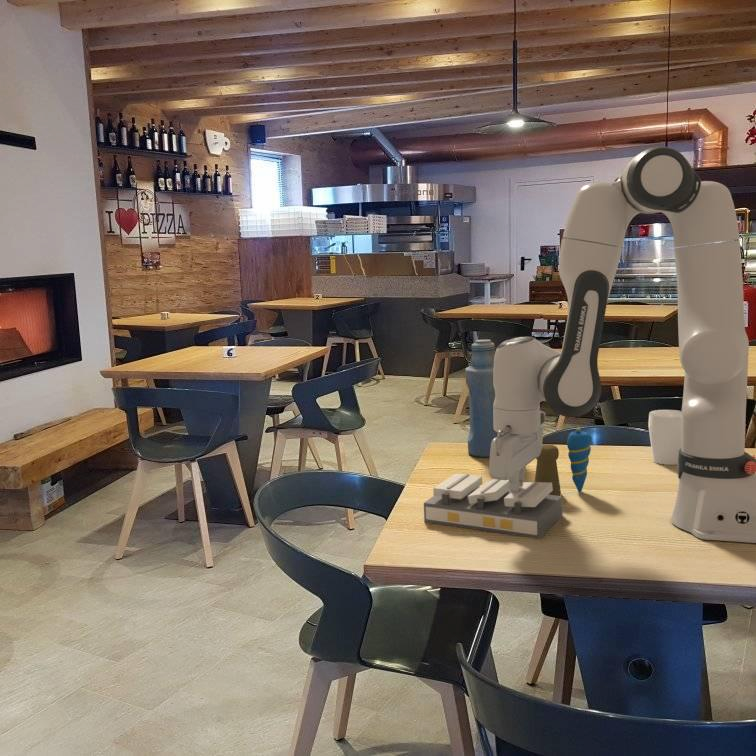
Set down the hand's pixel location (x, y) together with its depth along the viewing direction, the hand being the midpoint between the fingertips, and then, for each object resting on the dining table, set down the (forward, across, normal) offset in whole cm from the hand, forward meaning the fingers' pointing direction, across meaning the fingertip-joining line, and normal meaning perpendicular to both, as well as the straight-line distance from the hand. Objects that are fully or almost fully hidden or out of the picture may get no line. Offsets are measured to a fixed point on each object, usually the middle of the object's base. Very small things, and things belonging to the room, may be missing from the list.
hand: (516, 489), depth 157 cm
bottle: (+7, +46, +25) cm, 53 cm away
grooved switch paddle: (+1, 0, +12) cm, 13 cm away
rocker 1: (+1, 0, +5) cm, 5 cm away
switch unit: (+7, 0, +5) cm, 8 cm away
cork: (+7, +19, 0) cm, 20 cm away
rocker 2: (+1, 0, -2) cm, 3 cm away
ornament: (+7, +23, -6) cm, 25 cm away
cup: (+6, +54, -19) cm, 58 cm away
